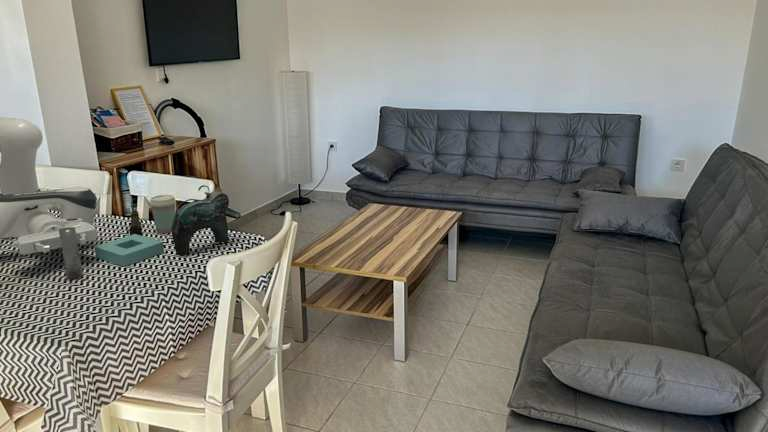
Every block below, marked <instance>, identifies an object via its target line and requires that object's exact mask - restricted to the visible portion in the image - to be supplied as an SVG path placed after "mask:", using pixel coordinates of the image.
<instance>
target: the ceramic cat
mask: <svg viewBox="0 0 768 432" xmlns="http://www.w3.org/2000/svg"><path fill="white" fill-rule="evenodd" d="M204 187H206V188H207V189H208V192H207V191H206V192H205V191H204V194H205V195H206V196H205V198H204V199H195V198H188V199H186V200H184V201H181V202H180V203H179V204H178V206H177V207H176V208H175V216H174V219H173V223H172V228H171V230H172V232H171V239H172V241H173V245H174V249H175V253H176V255H178V256H181V257H182V256H186V255H189V254H190V252H191V251H190V244H191V240H192V238H193V236H195V235H194V234H196V233H197V232H199V231H201V230H205V229H210V230H211V232H212V234H213V237H214V241H216V243H217V242H219V243H218V244H220V243H222V242H224V243H226V242H225V241H227V242H229V232H228V219H227V215H226V210H227V209H228V207H229V204H230V201H229V200H230V199H229V196H228V195H227V193H224V192H223V191H222V189H221V187H219V186H218V187H217V190H216V191H212V192H210V187H209V186H207V185H205V184H204V185H201V186H199V187H198V190H197V191H198V192H200V190H201V189H202V188H204ZM187 202H188V203H187ZM185 203H186V204H185ZM183 204H184V205H183ZM181 205H182V206H181ZM222 244H223V243H222Z"/></svg>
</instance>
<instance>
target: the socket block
mask: <svg viewBox="0 0 768 432" xmlns="http://www.w3.org/2000/svg"><path fill="white" fill-rule="evenodd" d="M164 247H165V245H164V241H161V240H157V239H154V238H151V237H147V236H143V235H137V234H133V235H130V234H129V235H128V236H127V235H126V236H123V237H121V238H118V239H114V240H111V241H107V242H105V243H102V244H98V245H95V246H94V253H95V258H97V259H100V260H102V261H105V262H109V263H112V264H114V265H118V266H119V267H120V266H121V267H125V268H126V267H127V266H128V267H129V266H131V265H133V264H135V263H139V262H141V261H144V260H146V259H150V258H153V257H155V256H159V255H161V254H164V253H165V248H164Z"/></svg>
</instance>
